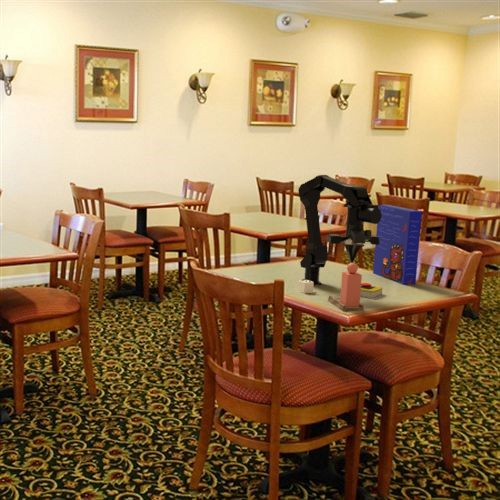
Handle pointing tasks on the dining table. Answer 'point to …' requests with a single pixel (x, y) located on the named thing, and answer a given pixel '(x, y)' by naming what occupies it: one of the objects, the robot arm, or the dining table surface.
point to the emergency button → (371, 291)
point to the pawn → (351, 286)
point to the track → (342, 307)
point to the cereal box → (398, 244)
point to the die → (305, 286)
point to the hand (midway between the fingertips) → (351, 262)
